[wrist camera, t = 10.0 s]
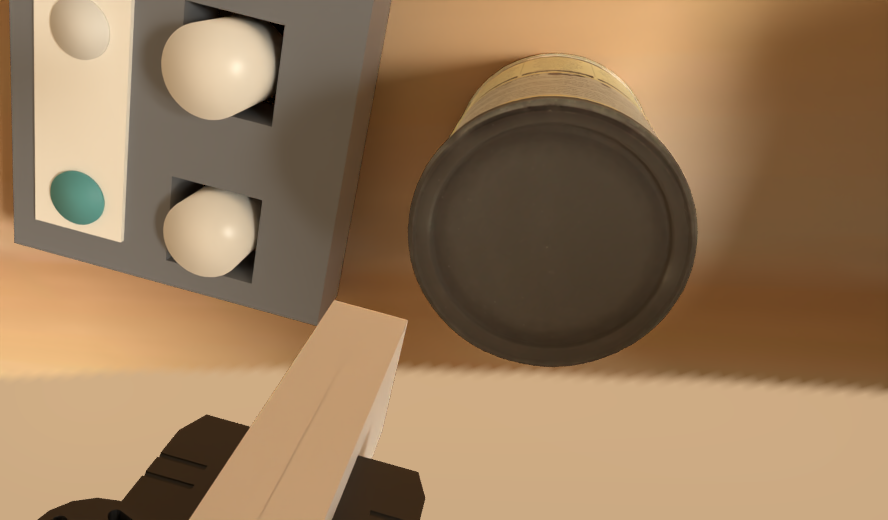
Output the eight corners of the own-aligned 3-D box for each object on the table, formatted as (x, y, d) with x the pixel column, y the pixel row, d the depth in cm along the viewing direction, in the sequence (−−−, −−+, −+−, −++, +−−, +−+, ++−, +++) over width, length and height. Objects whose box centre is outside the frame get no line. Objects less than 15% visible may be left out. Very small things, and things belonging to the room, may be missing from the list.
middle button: (295, 26, 37) (258, 35, 32) (284, 110, 39) (247, 130, 34) (213, 4, 37) (164, 11, 32) (205, 89, 39) (158, 107, 34)
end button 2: (281, 183, 42) (247, 211, 37) (272, 251, 43) (238, 286, 39) (208, 164, 42) (166, 189, 37) (202, 233, 44) (160, 265, 39)
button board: (426, -192, 34) (407, -213, 30) (337, 295, 44) (314, 330, 40) (61, -279, 35) (-6, -311, 30) (58, 219, 45) (8, 245, 41)
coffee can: (681, 192, 39) (742, 308, 26) (508, 266, 42) (485, 403, 29) (602, 12, 36) (626, 42, 23) (422, 106, 39) (355, 179, 26)
